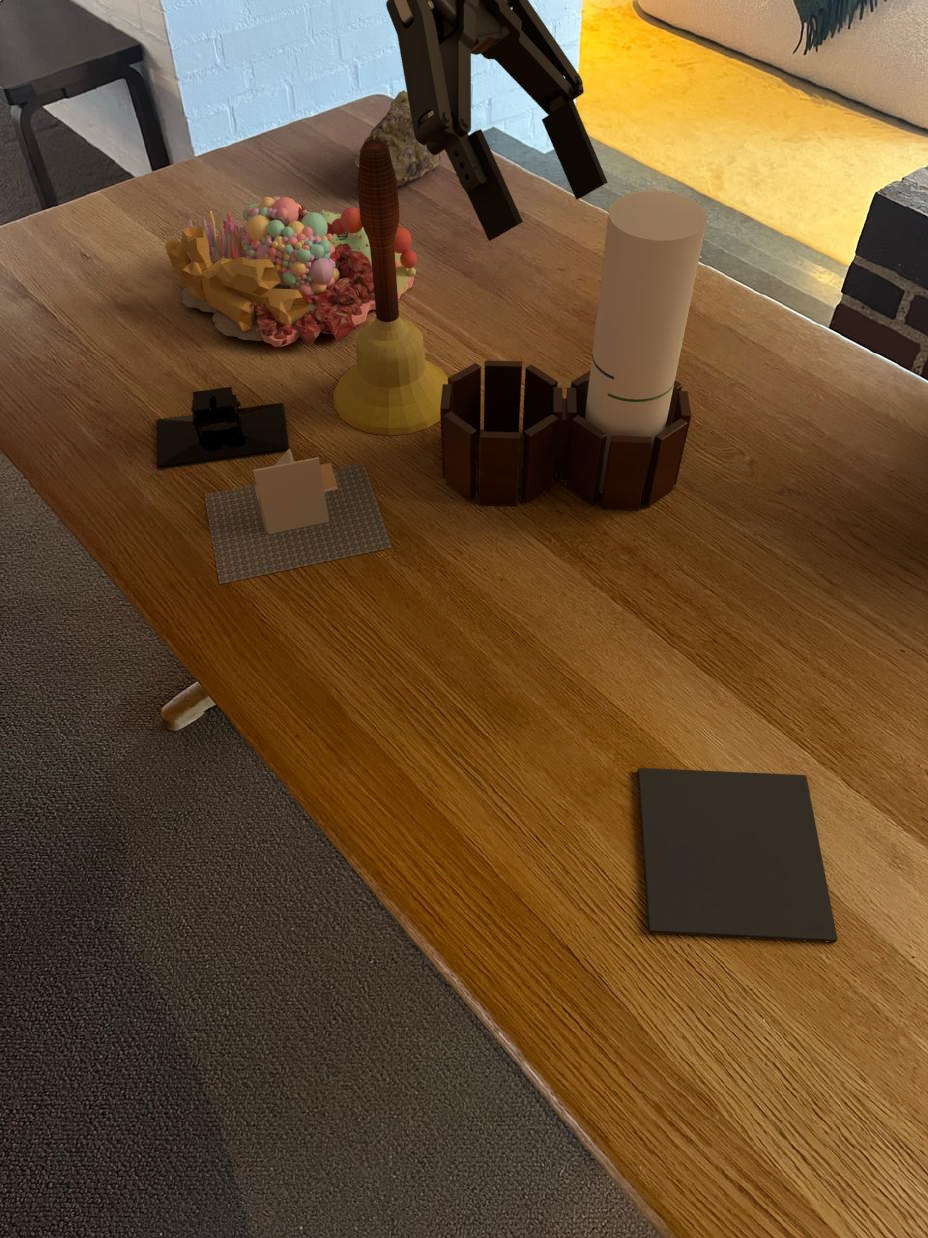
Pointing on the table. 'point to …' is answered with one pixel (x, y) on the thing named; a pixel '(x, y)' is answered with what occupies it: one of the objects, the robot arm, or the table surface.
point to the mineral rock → (403, 142)
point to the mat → (732, 856)
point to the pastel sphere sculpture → (284, 272)
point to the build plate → (220, 431)
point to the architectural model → (294, 519)
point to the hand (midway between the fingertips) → (551, 210)
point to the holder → (549, 441)
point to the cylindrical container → (642, 312)
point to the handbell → (386, 324)
